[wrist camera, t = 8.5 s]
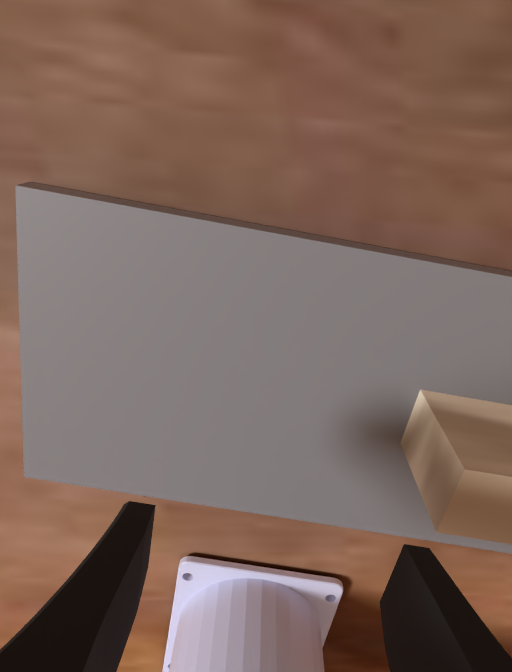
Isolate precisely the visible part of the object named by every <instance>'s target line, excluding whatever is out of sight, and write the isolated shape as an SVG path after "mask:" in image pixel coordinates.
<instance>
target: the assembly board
mask: <svg viewBox="0 0 512 672" xmlns="http://www.w3.org/2000/svg"><path fill="white" fill-rule="evenodd" d="M16 219H17V253H18V288H19V322H20V356H21V390H22V424H23V458H24V477H28V478H34V479H40V480H47V481H53V482H59V483H66V484H72V485H78V486H85V487H91V488H97V489H104V490H110V491H117V492H123V493H129V494H136V495H142V496H148V497H155V498H161V499H167V500H174V501H180V502H186V503H193V504H199V505H206V506H212V507H218V508H225V509H231V510H237V511H244V512H250V513H256V514H263V515H269V516H275V517H282V518H288V519H295V520H301V521H307V522H314V523H320V524H326V525H333V526H339V527H345V528H352V529H358V530H364V531H371V532H377V533H384V534H390V535H396V536H403V537H409V538H415V539H422V540H428V541H434V542H441V543H447V544H453V545H460V546H466V547H473V548H479V549H485V550H492V551H498V552H504V553H511V554H512V544H506V543H499V542H493V541H487V540H480V539H474V538H468V537H461V536H455V535H449V534H442V533H436V531H435V528H434V526H433V523H432V521H431V518H430V516H429V513H428V511H427V508H426V506H425V504H424V501H423V499H422V496H421V494H420V491H419V489H418V486H417V484H416V481H415V479H414V476H413V474H412V471H411V469H410V466H409V464H408V461H407V459H406V456H405V454H404V451H403V449H402V446H401V444H400V443H401V440H402V437H403V435H404V432H405V429H406V427H407V424H408V421H409V418H410V416H411V413H412V410H413V408H414V405H415V402H416V399H417V397H418V394H419V391H420V390H426V391H432V392H438V393H444V394H449V395H455V396H461V397H467V398H473V399H479V400H485V401H490V402H496V403H502V404H508V405H512V271H509V270H503V269H498V268H493V267H487V266H482V265H476V264H471V263H466V262H460V261H455V260H449V259H444V258H439V257H433V256H428V255H422V254H417V253H412V252H406V251H401V250H395V249H390V248H385V247H379V246H374V245H368V244H363V243H358V242H352V241H347V240H341V239H336V238H331V237H325V236H320V235H314V234H309V233H304V232H298V231H293V230H287V229H282V228H277V227H271V226H266V225H260V224H255V223H250V222H244V221H239V220H234V219H228V218H223V217H217V216H212V215H207V214H201V213H196V212H190V211H185V210H180V209H174V208H169V207H163V206H158V205H153V204H147V203H142V202H136V201H131V200H126V199H120V198H115V197H109V196H104V195H99V194H93V193H88V192H82V191H77V190H72V189H66V188H61V187H55V186H50V185H45V184H39V183H34V182H27V183H23V184H19V185H16Z"/></svg>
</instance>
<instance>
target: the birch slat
mask: <svg viewBox="0 0 512 672" xmlns="http://www.w3.org/2000/svg"><path fill="white" fill-rule="evenodd" d="M400 444H401V446H402V449H403V451H404V454H405V456H406V459H407V461H408V464H409V466H410V469H411V471H412V474H413V476H414V479H415V481H416V484H417V486H418V489H419V491H420V494H421V496H422V499H423V501H424V504H425V506H426V508H427V511H428V513H429V516H430V518H431V521H432V523H433V526H434V528H435V531H436V533H442V534H449V535H455V536H461V537H468V538H474V539H480V540H487V541H493V542H499V543H506V544H512V405H508V404H502V403H496V402H490V401H485V400H479V399H473V398H467V397H461V396H455V395H449V394H444V393H438V392H432V391H426V390H420V391H419V394H418V397H417V399H416V402H415V405H414V408H413V410H412V413H411V416H410V418H409V421H408V424H407V427H406V429H405V432H404V435H403V437H402V440H401V443H400Z"/></svg>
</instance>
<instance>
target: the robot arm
mask: <svg viewBox="0 0 512 672" xmlns="http://www.w3.org/2000/svg"><path fill="white" fill-rule="evenodd" d="M154 513H155V505H150V504H144V503H138V502H131V501H129V502H127V503H126V504H124V505H123V507H122V509H121V510H120V512H119V514H118V515H117V517H116V518H115V519H114V521H113V522H112V524H111V525H110V527H109V528H108V529H107V531H106V532H105V534H104V535H103V536H102V538H101V539H100V540H99V542H98V543H97V544H96V545H95V547H94V548H93V549H92V551H91V552H90V553H89V554H88V555H87V557H86V558H85V559H84V560H83V562H82V563H81V564H80V565H79V566H78V568H77V569H76V570H75V571H74V572H73V574H72V575H71V576H70V577H69V578H68V580H67V581H66V582H65V583H64V584H63V585H62V586H61V587H60V588H59V590H58V591H57V592H56V593H55V594H54V595H53V596H52V597H51V598H50V599H49V601H48V602H47V603H46V604H45V605H44V606H43V607H42V608H41V609H40V610H39V611H38V613H37V614H36V615H35V616H34V617H33V618H32V619H31V620H30V621H29V622H28V623H27V624H26V625H25V626H24V627H23V628H22V629H21V630H20V631H19V632H18V633H17V634H16V635H15V636H14V637H13V638H12V639H11V640H10V641H9V642H8V643H7V644H6V645H5V646H4V647H3V648H1V649H0V672H116V671H117V668H118V665H119V662H120V660H121V657H122V654H123V651H124V648H125V645H126V642H127V639H128V637H129V634H130V631H131V628H132V625H133V622H134V619H135V616H136V613H137V609H138V606H139V602H140V598H141V594H142V590H143V585H144V581H145V577H146V573H147V569H148V563H149V555H150V546H151V538H152V529H153V521H154ZM188 573H190V574H188ZM342 594H343V584H342V582H341V581H340V580H339V579H337V578H332V577H326V576H319V575H313V574H306V573H299V572H293V571H286V570H280V569H273V568H267V567H260V566H253V565H247V564H240V563H234V562H227V561H221V560H214V559H207V558H201V557H194V556H186V557H183V558H182V559H181V561H180V564H179V569H178V576H177V582H176V589H175V595H174V601H173V608H172V614H171V621H170V627H169V633H168V640H167V646H166V653H165V659H164V665H163V672H325V671H324V661H323V650H322V648H323V645H324V642H325V640H326V637H327V634H328V632H329V629H330V626H331V623H332V621H333V618H334V615H335V613H336V610H337V607H338V604H339V602H340V599H341V596H342ZM380 607H381V617H382V626H383V634H384V641H385V649H386V654H387V658H388V663H389V667H390V671H391V672H512V659H511V657H510V656H509V655H508V654H507V652H506V651H505V650H504V649H503V647H502V646H501V645H500V643H499V642H498V641H497V640H496V638H495V637H494V636H493V634H492V633H491V632H490V631H489V629H488V628H487V627H486V625H485V624H484V623H483V621H482V620H481V619H480V617H479V616H478V615H477V613H476V612H475V611H474V609H473V608H472V607H471V605H470V604H469V602H468V601H467V600H466V598H465V597H464V596H463V594H462V593H461V592H460V590H459V589H458V587H457V586H456V585H455V583H454V582H453V580H452V579H451V578H450V576H449V575H448V574H447V572H446V571H445V569H444V568H443V567H442V565H441V564H440V562H439V561H438V560H437V558H436V557H435V556H434V554H433V553H432V552H431V550H430V549H429V548H425V547H418V546H412V545H406V544H404V546H403V548H402V550H401V553H400V555H399V558H398V560H397V562H396V565H395V567H394V570H393V572H392V574H391V577H390V579H389V581H388V584H387V586H386V589H385V591H384V593H383V596H382V598H381V601H380Z"/></svg>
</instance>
